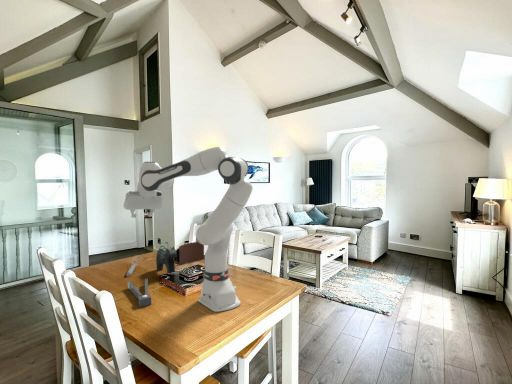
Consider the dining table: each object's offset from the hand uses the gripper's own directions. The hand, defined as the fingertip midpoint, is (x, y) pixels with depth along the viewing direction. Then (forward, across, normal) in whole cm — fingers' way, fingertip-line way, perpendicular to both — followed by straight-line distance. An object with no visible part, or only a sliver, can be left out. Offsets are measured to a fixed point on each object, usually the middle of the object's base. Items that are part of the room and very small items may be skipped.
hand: (141, 216), depth 139 cm
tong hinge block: (+36, -7, -23) cm, 43 cm away
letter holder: (+41, +52, +13) cm, 68 cm away
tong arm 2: (+38, +2, -12) cm, 39 cm away
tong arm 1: (+38, -4, -10) cm, 40 cm away
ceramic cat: (+40, +26, +5) cm, 48 cm away
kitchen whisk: (+46, +19, +29) cm, 58 cm away
